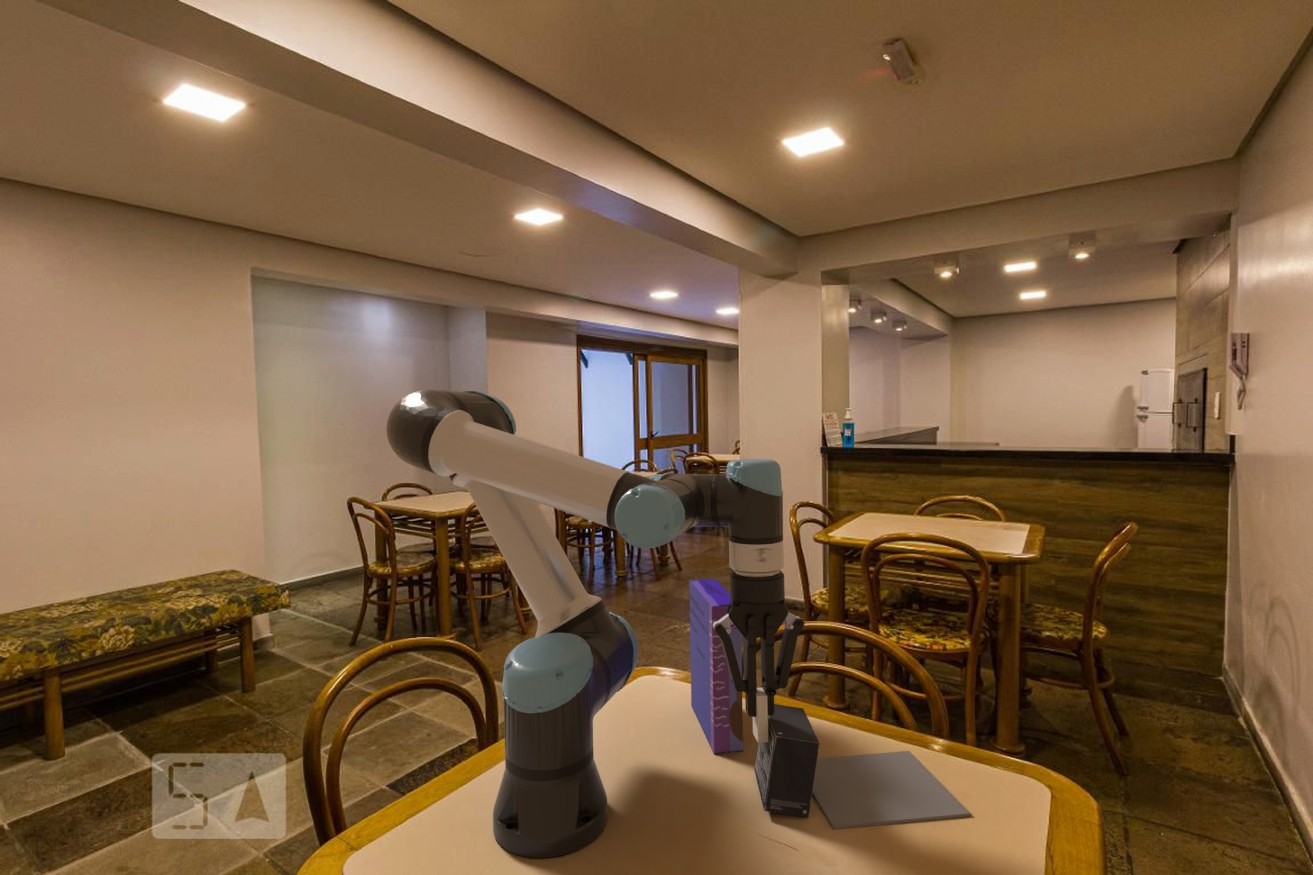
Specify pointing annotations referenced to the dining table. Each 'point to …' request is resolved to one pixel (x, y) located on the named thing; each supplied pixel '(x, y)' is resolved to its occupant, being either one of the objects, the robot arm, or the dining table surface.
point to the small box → (787, 762)
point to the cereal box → (714, 668)
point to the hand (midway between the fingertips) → (760, 737)
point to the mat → (881, 791)
